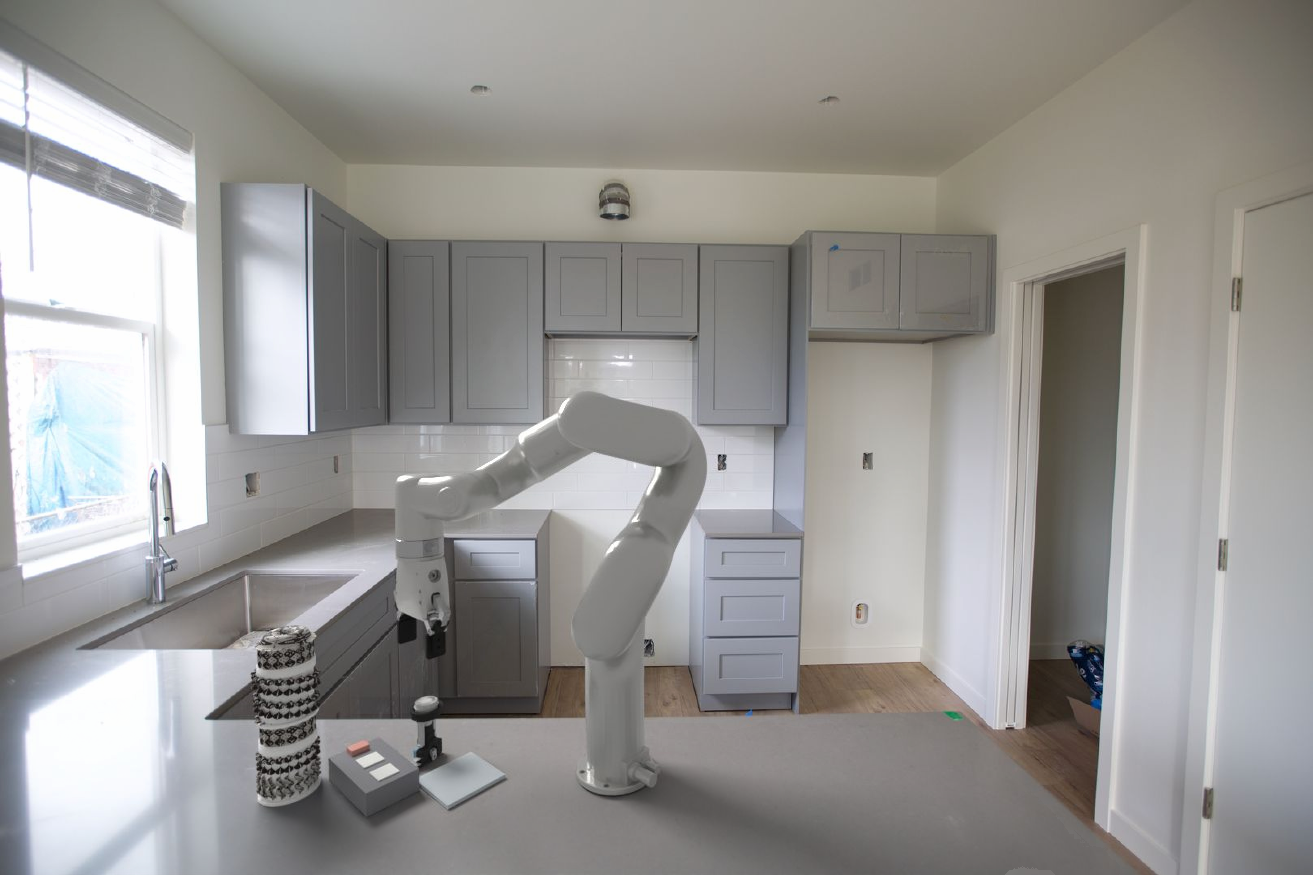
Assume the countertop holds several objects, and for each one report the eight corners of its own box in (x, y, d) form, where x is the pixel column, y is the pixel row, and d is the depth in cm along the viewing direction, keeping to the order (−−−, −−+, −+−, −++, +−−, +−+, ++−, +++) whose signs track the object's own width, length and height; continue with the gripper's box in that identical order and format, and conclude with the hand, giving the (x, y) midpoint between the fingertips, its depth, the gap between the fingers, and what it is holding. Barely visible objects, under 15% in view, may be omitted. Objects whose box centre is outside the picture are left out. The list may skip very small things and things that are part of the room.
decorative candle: (239, 800, 88) (234, 637, 88) (296, 766, 97) (293, 617, 96) (281, 814, 85) (276, 645, 84) (336, 778, 94) (333, 624, 93)
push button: (424, 774, 94) (423, 714, 94) (397, 769, 96) (396, 709, 96) (450, 752, 101) (449, 695, 100) (424, 747, 102) (423, 691, 102)
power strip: (420, 789, 90) (420, 762, 90) (366, 817, 84) (365, 788, 84) (380, 756, 100) (380, 731, 99) (328, 779, 93) (328, 752, 93)
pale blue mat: (505, 777, 93) (505, 774, 93) (447, 809, 86) (447, 805, 86) (471, 754, 100) (471, 751, 100) (414, 782, 92) (414, 778, 92)
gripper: (468, 551, 94) (469, 655, 95) (416, 537, 106) (417, 630, 106) (424, 559, 89) (425, 670, 89) (374, 544, 100) (375, 642, 101)
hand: (421, 648), depth 98 cm, fingers open, 9 cm apart
